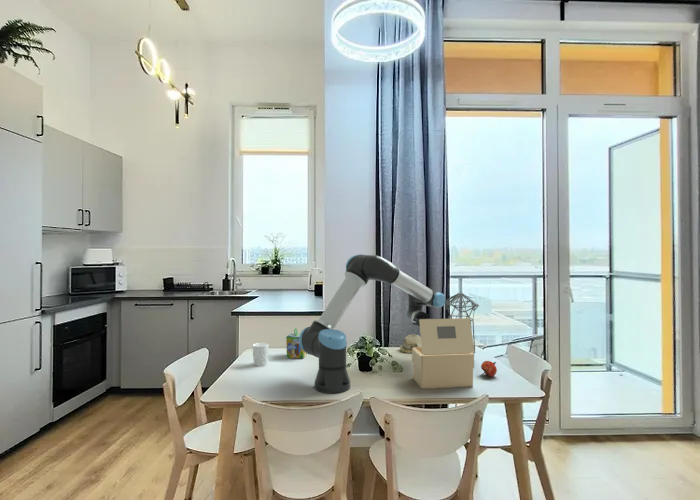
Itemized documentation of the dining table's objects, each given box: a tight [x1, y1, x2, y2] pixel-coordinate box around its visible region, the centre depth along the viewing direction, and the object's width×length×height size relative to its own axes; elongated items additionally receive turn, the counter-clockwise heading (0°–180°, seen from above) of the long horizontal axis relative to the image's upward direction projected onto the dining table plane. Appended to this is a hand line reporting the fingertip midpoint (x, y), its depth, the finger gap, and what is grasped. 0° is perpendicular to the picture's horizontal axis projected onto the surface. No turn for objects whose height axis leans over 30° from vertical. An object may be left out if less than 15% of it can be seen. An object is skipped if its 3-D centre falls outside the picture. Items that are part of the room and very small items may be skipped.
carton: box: [411, 347, 475, 390], centre depth 180 cm, size 23×14×14 cm, turn 97°
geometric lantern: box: [444, 292, 480, 355], centre depth 217 cm, size 16×16×35 cm
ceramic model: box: [399, 333, 422, 354], centre depth 233 cm, size 14×11×10 cm
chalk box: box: [285, 328, 307, 359], centre depth 222 cm, size 9×9×15 cm
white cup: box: [252, 342, 270, 367], centre depth 207 cm, size 8×8×10 cm
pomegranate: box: [479, 360, 498, 378], centre depth 189 cm, size 7×7×10 cm
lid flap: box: [419, 317, 476, 355], centre depth 175 cm, size 22×15×1 cm
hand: (436, 328), depth 188 cm, fingers closed
